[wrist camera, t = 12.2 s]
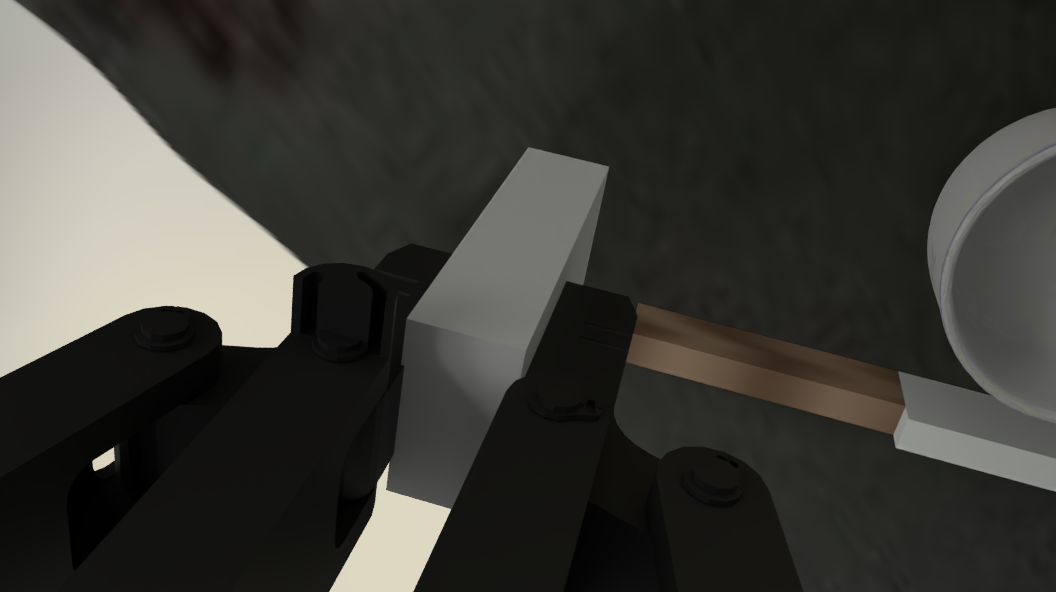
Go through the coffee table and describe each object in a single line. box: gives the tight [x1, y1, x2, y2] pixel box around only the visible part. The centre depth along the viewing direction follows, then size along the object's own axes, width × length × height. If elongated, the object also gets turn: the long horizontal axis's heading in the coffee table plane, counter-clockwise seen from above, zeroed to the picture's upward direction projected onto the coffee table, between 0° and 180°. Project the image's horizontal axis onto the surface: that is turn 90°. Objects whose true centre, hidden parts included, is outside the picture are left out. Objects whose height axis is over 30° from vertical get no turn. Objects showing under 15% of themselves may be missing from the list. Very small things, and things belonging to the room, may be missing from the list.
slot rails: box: [626, 303, 906, 435], centre depth 38 cm, size 12×21×3 cm, turn 171°
